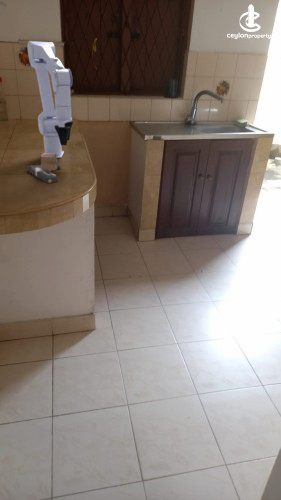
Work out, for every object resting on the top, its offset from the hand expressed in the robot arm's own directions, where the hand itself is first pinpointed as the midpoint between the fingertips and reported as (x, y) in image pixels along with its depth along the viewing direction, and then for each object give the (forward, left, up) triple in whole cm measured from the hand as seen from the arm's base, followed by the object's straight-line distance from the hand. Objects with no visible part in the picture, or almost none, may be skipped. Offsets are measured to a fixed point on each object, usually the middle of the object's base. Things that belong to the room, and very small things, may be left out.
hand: (65, 142), depth 138 cm
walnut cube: (+8, -5, -8) cm, 13 cm away
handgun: (+9, -5, -11) cm, 15 cm away
